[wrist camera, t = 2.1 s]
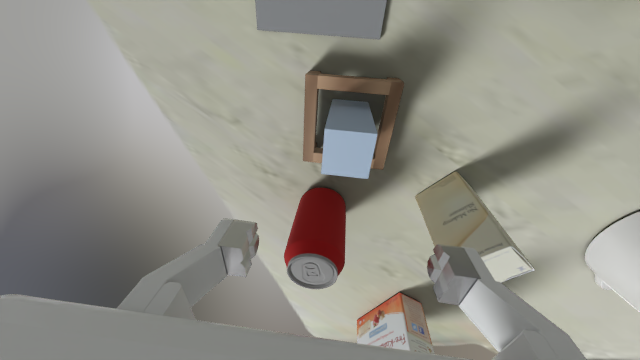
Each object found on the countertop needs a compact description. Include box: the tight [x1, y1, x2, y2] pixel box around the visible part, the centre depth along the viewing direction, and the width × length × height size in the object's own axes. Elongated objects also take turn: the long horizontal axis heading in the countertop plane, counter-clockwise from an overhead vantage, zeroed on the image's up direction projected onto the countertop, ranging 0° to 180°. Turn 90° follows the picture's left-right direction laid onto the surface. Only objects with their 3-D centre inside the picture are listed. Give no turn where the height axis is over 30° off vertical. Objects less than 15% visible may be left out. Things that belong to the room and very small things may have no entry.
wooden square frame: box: [303, 71, 404, 170], centre depth 25 cm, size 9×9×3 cm
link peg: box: [321, 99, 377, 179], centre depth 22 cm, size 4×4×10 cm
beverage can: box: [284, 188, 346, 289], centre depth 29 cm, size 7×7×12 cm
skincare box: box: [415, 171, 535, 283], centre depth 26 cm, size 6×4×12 cm
